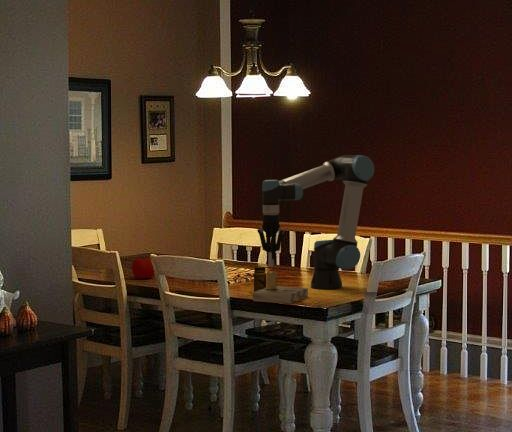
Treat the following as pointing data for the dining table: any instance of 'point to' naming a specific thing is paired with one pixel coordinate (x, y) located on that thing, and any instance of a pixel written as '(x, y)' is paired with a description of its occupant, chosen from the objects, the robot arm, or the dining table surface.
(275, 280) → the bushing
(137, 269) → the tomato
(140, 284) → the dining table surface
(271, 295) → the jig
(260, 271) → the condiment
